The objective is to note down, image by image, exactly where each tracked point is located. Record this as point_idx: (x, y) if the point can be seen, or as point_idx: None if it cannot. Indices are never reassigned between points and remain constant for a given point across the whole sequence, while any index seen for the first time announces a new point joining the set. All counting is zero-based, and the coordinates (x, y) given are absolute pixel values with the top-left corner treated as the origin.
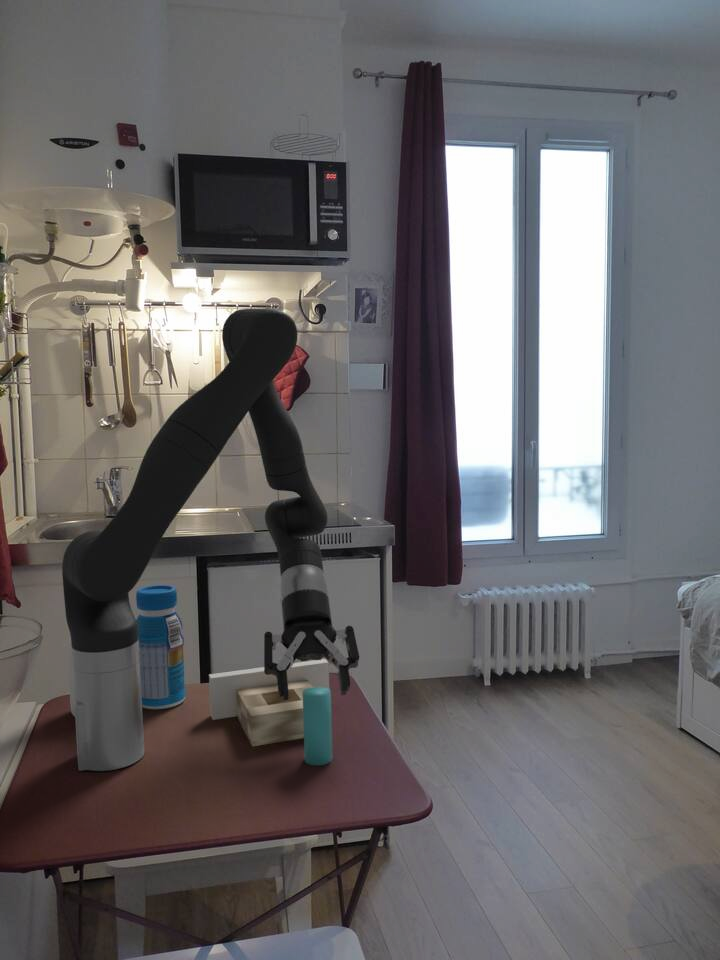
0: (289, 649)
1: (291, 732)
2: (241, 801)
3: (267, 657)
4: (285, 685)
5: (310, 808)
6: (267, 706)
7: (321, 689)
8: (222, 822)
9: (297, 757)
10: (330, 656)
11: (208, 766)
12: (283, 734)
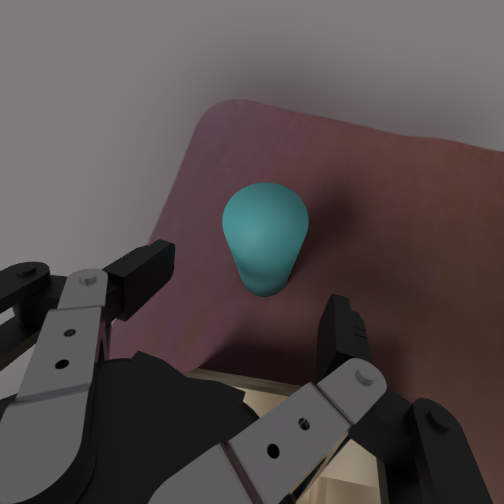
0: (321, 431)
1: (276, 384)
2: (417, 206)
3: (459, 467)
4: (343, 310)
5: (331, 151)
6: (331, 466)
7: (243, 228)
8: (450, 169)
9: (294, 298)
10: (104, 343)
11: (461, 350)
12: (294, 387)
